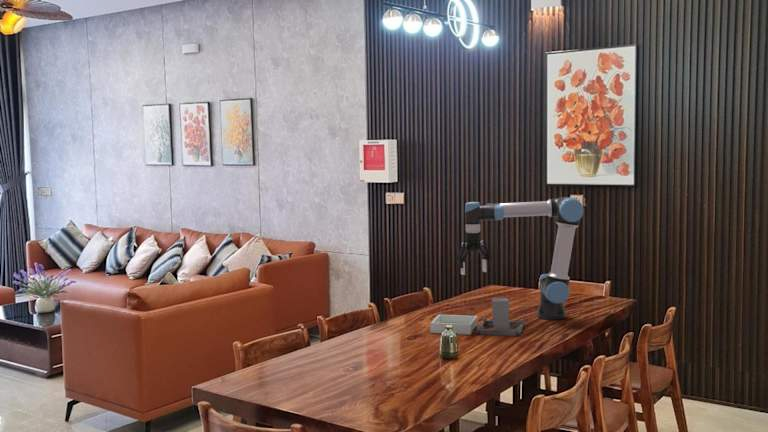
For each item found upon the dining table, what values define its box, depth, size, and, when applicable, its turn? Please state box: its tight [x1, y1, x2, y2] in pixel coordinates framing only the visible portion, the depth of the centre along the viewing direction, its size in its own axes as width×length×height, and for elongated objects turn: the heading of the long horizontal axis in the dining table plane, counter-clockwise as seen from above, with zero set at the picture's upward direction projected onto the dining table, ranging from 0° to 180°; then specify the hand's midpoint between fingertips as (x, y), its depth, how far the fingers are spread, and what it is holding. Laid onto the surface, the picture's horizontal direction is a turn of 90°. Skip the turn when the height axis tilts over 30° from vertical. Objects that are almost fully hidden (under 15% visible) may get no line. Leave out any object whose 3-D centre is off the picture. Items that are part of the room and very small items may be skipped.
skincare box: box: [491, 297, 511, 330], centre depth 373 cm, size 8×7×16 cm
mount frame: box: [476, 316, 525, 337], centre depth 373 cm, size 21×21×4 cm
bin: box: [429, 314, 479, 336], centre depth 378 cm, size 20×20×5 cm
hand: (473, 273), depth 388 cm, fingers open, 13 cm apart
